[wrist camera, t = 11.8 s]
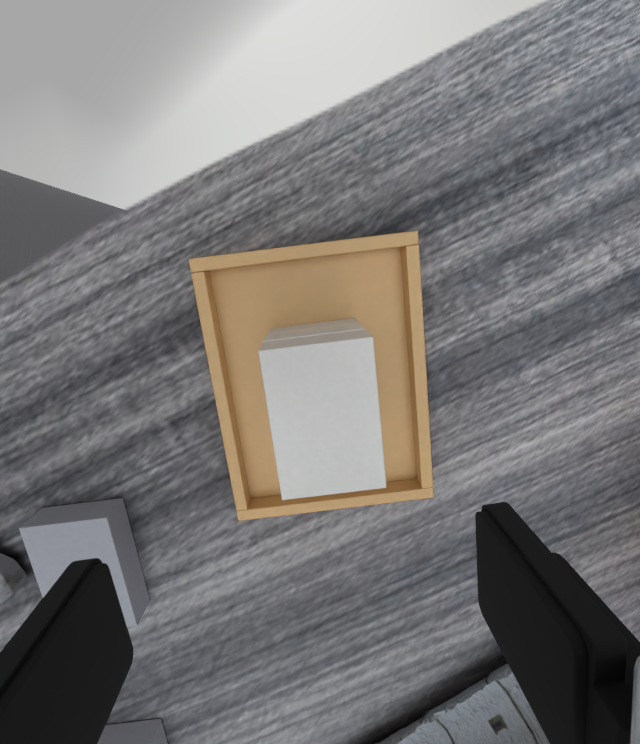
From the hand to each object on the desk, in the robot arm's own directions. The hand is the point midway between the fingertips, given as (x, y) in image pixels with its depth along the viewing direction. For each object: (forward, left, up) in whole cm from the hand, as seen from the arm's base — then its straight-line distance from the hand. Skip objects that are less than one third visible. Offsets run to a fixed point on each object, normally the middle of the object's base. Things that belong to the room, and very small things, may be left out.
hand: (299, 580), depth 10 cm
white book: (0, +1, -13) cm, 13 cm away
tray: (0, +1, -19) cm, 19 cm away
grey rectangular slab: (+11, -17, -19) cm, 28 cm away
